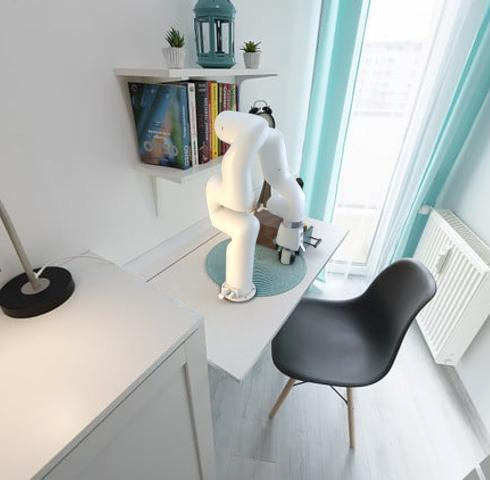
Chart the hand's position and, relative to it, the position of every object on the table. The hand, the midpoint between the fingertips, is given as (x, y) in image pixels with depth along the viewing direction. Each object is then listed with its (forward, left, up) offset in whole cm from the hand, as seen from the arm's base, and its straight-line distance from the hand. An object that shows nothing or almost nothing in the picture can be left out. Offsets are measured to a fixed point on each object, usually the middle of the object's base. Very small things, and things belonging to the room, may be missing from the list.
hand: (286, 259), depth 124 cm
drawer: (+13, +1, 0) cm, 13 cm away
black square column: (+32, +14, -1) cm, 35 cm away
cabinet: (+13, +16, -1) cm, 21 cm away
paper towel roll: (0, 0, -1) cm, 1 cm away
